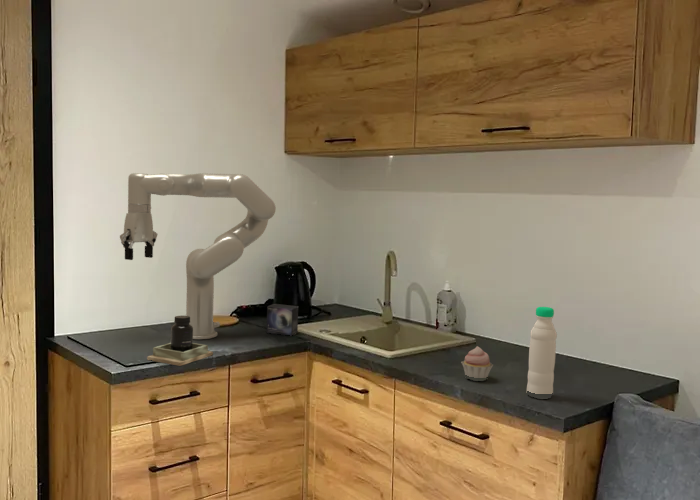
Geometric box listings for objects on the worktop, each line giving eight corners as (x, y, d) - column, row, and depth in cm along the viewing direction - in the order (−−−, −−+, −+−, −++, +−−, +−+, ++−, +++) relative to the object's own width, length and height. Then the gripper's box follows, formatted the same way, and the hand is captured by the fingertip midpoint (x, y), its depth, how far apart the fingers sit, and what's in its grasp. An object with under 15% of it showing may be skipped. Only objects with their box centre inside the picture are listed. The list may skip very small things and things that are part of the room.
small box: (265, 333, 255) (266, 306, 253) (272, 330, 261) (273, 303, 260) (291, 336, 251) (292, 308, 250) (298, 333, 257) (299, 305, 256)
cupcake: (482, 374, 210) (484, 342, 209) (497, 382, 201) (499, 349, 200) (455, 375, 207) (456, 343, 206) (468, 384, 198) (470, 350, 197)
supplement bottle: (186, 357, 213) (187, 319, 212) (166, 355, 214) (167, 317, 213) (196, 352, 219) (196, 315, 218) (176, 350, 221) (177, 314, 220)
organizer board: (181, 349, 226) (181, 339, 226) (212, 354, 221) (213, 344, 220) (147, 359, 212) (147, 348, 212) (180, 365, 206) (180, 354, 206)
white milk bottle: (527, 399, 186) (533, 309, 184) (525, 391, 193) (530, 304, 191) (554, 401, 185) (560, 310, 183) (550, 393, 192) (556, 306, 190)
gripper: (148, 208, 245) (147, 255, 246) (112, 209, 229) (112, 259, 231) (164, 209, 241) (164, 257, 243) (129, 210, 226) (129, 261, 227)
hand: (138, 258), depth 237 cm, fingers open, 9 cm apart
